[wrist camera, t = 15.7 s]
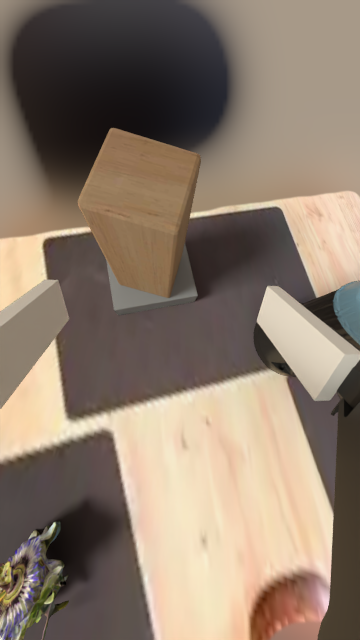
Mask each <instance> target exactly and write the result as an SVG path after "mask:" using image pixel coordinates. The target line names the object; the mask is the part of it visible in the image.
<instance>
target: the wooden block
mask: <svg viewBox="0 0 360 640" xmlns="http://www.w3.org/2000/svg"><path fill="white" fill-rule="evenodd" d="M200 163H201V159H200V155H199V154H197V153H194V152H191V151H187V150H184V149H181V148H177V147H174V146H171V145H168V144H165V143H161V142H158V141H155V140H151V139H148V138H145V137H142V136H138V135H135V134H132V133H128V132H125V131H122V130H119V129H115V128H112V129H110V130H109V133H108V135H107V137H106V139H105V142H104V144H103V146H102V148H101V150H100V152H99V155H98V157H97V159H96V161H95V164H94V166H93V168H92V170H91V172H90V174H89V177H88V179H87V181H86V183H85V186H84V188H83V190H82V192H81V194H80V197H79V199H78V206H79V208H80V210H81V212H82V214H83V216H84V218H85V220H86V221H87V223H88V225H89V227H90V229H91V231H92V233H93V235H94V237H95V239H96V241H97V243H98V244H99V246H100V248H101V250H102V252H103V254H104V256H105V258H106V260H107V262H108V264H109V265H110V267H111V269H112V271H113V273H114V275H115V277H116V279H117V281H118V283H119V284H120V285H122V286H126V287H130V288H133V289H137V290H140V291H144V292H148V293H151V294H155V295H159V296H162V297H166V298H169V297H170V296H171V292H172V289H173V285H174V282H175V278H176V275H177V271H178V268H179V264H180V260H181V257H182V253H183V248H184V243H185V238H186V233H187V228H188V223H189V218H190V213H191V208H192V203H193V198H194V193H195V188H196V183H197V178H198V173H199V168H200Z"/></svg>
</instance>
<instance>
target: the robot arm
mask: <svg viewBox="0 0 360 640" xmlns="http://www.w3.org/2000/svg"><path fill="white" fill-rule="evenodd" d="M68 320H69V317H68V313H67V309H66V306H65V302H64V299H63V295H62V292H61V288H60V285H59V281H58V280H44V281H42V282H41V283H40V284H38V285H37V286H35V287H34V288H33V289H31V290H30V291H28V292H27V293H26V294H24V295H23V296H21V297H20V298H19V299H17V300H16V301H14V302H13V303H12V304H10V305H9V306H7V307H6V308H5V309H3V310H2V311H0V409H1V408H2V407H3V405H4V404H5V403H6V401H7V400H8V399H9V397H10V396H11V395H12V394H13V392H14V391H15V390H16V388H17V387H18V386H19V384H20V383H21V382H22V380H23V379H24V378H25V376H26V375H27V374H28V373H29V371H30V370H31V369H32V367H33V366H34V365H35V363H36V362H37V361H38V359H39V358H40V357H41V355H42V354H43V353H44V352H45V350H46V349H47V348H48V346H49V345H50V344H51V342H52V341H53V340H54V338H55V337H56V336H57V334H58V333H59V332H60V331H61V329H62V328H63V327H64V325H65V324H66V323H67V321H68ZM254 344H255V348H256V351H257V353H258V355H259V357H260V358H261V360H262V361H263V362H264V364H265V365H266V366H267V367H269V368H270V369H271V370H273V371H274V372H276V373H278V374H281V375H285V376H293V377H298V379H299V380H300V382H301V383H302V384H303V386H304V387H305V388H306V390H307V391H308V393H309V394H310V395H311V397H312V398H313V399H314V401H323V400H331V399H332V397H333V396H334V395H335V393H336V392H337V393H338V395H339V398H340V402H339V403H338V404H337V406H336V407H335V408H334V410H333V411H332V413H331V415H333V416H334V415H335V413H336V412H338V433H337V455H336V477H335V498H334V520H333V542H332V564H331V585H330V600H329V606H328V610H327V612H326V614H325V616H324V618H323V620H322V622H321V626H320V630H319V634H318V640H360V281H355V282H351V283H348V284H346V285H344V286H342V287H341V288H340V289H338V290H336V291H334V292H331V293H329V294H326V295H324V296H321V297H319V298H316V299H314V300H311V301H309V302H306V303H304V304H300V303H299V302H297V301H296V300H295V299H294V298H293V297H291V296H290V295H289V294H288V293H286V292H285V291H284V290H283V289H281V288H280V287H279V286H267V289H266V292H265V296H264V299H263V302H262V305H261V308H260V312H259V315H258V318H257V323H256V326H255V329H254Z"/></svg>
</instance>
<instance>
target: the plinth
mask: <svg viewBox="0 0 360 640" xmlns="http://www.w3.org/2000/svg"><path fill="white" fill-rule="evenodd" d="M106 261H107V260H106ZM107 267H108V274H109V280H110V286H111V293H112V299H113V306H114V311H115V312H116V313H117V314H118V315H124V314H129V313H135V312H140V311H146V310H152V309H157V308H163V307H168V306H174V305H179V304H185V303H191V302H194V301H195V300H196V298H197V296H198V295H197V291H196V287H195V282H194V278H193V274H192V270H191V266H190V262H189V257H188V253H187V249H186V245H185V243H184V248H183V253H182V257H181V260H180V264H179V268H178V271H177V275H176V278H175V282H174V285H173V289H172V292H171V296H170V297H169V298H166V297H162V296H159V295H155V294H151V293H148V292H144V291H140V290H137V289H133V288H130V287H126V286H122V285H120V284H119V283H118V281H117V279H116V277H115V275H114V273H113V271H112V269H111V267H110V265H109V264H108V262H107Z"/></svg>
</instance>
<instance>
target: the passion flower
mask: <svg viewBox="0 0 360 640" xmlns="http://www.w3.org/2000/svg"><path fill="white" fill-rule="evenodd" d="M60 529H61V524H60V521H57V522H54V523H53V525H52V526H51V527H50V528H49V526H46V528H45V530H44V531H43V533H42V534H41V535H40V534H39V532H38V531H37V530H35V531H34V532H33V533H32V534H31V536H30V537H29V539H28V541H24V542H23V543H22V545H21V546H20V547H19V549H17V550H16V551H15V556H12V557H9V560H8V561H7V562H6V564H4V563H1V564H0V640H8V637H10V636H11V637H12V639H11V640H23V638H24V635H25V632H26V628H28V627H30V626H31V625H32V624H33V623H34V622H35V621H36V623H38V621H39V620H40V619H41V616H42V614H45V615H46V616H47V621H46V625H45V629H44V632H43V637H42V640H44V637H45V633H46V628H47V625H48V620H49V618H50V617H51V615H53V614H54V613H56V612H57V611H59V610H60V609H63V608H64V607H65V606H66V605H67V604H68V602H69V600H68V601H65V602H62V603H61V604H54V599H55V597H56V595H57V593H58V591H59V590H60V588H61V587H62V586H65V585H66V582H65V581H66V579H67V577H68V576H69V575H66V576H65V577H64V576H62V571H63V567H64V563H63V562H62V561H61V560H55V559H48V558H47V557H46V551H47V548H48V546H49V545H50V544H51V542H52V541H53V540H55V539H56V538H57V535H58V534H59V532H60ZM52 589H53V593H52V595H51V596H49V594H50V592H51V590H52ZM48 596H49V598H48ZM47 598H48V599H47ZM49 603H50V604H49ZM47 604H49V605H47Z"/></svg>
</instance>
